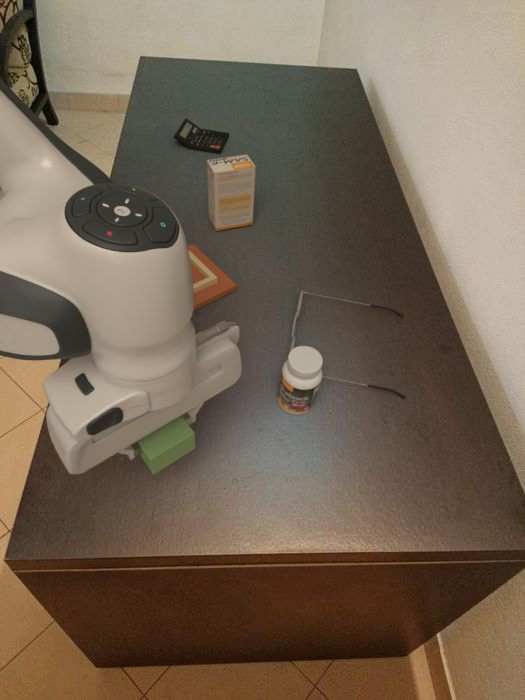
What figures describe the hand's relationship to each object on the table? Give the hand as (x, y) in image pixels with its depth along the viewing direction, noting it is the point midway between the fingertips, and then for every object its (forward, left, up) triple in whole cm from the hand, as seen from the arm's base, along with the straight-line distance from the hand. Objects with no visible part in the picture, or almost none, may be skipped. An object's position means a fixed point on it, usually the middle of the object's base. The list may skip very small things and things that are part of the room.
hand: (160, 436), depth 53 cm
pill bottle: (+21, -1, -11) cm, 24 cm away
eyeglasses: (+35, +2, -11) cm, 37 cm away
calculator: (+53, +71, -11) cm, 89 cm away
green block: (0, 0, -2) cm, 2 cm away
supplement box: (+39, +40, -11) cm, 57 cm away
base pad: (+21, +30, -10) cm, 38 cm away
